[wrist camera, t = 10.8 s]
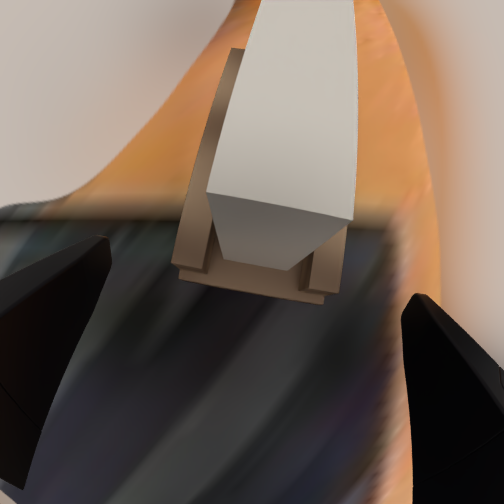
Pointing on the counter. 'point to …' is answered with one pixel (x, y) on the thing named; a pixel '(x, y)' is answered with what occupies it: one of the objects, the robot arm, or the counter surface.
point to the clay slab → (289, 136)
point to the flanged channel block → (206, 240)
